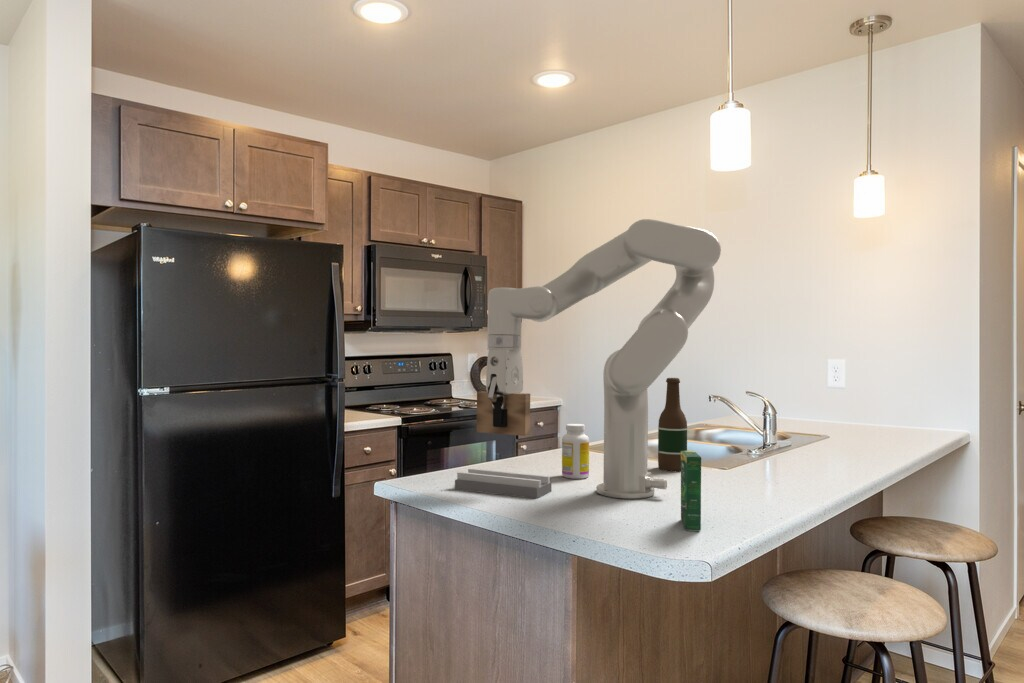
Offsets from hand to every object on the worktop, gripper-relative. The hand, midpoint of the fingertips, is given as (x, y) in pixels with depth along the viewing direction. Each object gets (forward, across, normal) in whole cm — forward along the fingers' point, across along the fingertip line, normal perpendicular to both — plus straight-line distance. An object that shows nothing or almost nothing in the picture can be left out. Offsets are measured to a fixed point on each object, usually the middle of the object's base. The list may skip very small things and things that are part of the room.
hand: (503, 425), depth 149 cm
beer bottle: (+14, +44, -28) cm, 54 cm away
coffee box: (+14, -10, -43) cm, 47 cm away
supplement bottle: (+15, +22, -9) cm, 28 cm away
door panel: (+2, 0, 0) cm, 2 cm away
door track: (+14, 0, 0) cm, 14 cm away
